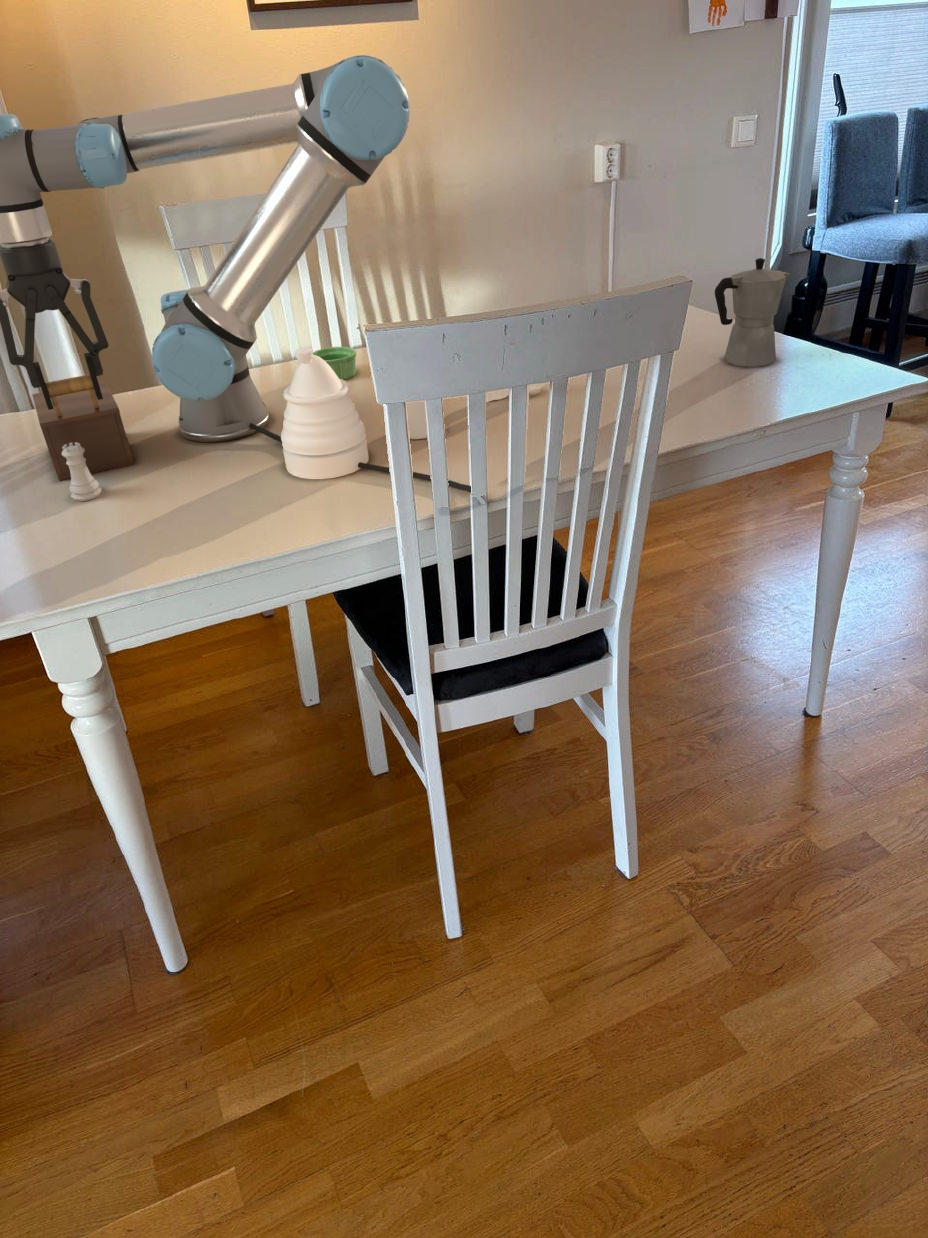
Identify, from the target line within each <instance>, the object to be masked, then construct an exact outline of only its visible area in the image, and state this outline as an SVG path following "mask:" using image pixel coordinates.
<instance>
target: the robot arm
mask: <svg viewBox="0 0 928 1238" xmlns="http://www.w3.org/2000/svg"><path fill="white" fill-rule="evenodd" d="M410 111H411V110H410V100H409V95H408V91H407V89H406V86H405V84H404V83H403V81H402V79H401V77H400V75H398V74H397V73H396V71H395V69H393V67H391V66H389V65H388V64H387V63H385V62H384V61H383V60H382V59H380V58H377V57H375V56H371V55H365V54H360V55H359V54H358V55H353V56H349V57H347V58H345V59H342V60H341V61H338V62H336V63H335V64H332V65H329V66H327V67H324V68H321V69H318V70H313V71H309V72H304V73H299V74H297V77H296V78H295V80H294V82H293V83H289V84H282V85H278V86H277V85H276V86H272V87H266V88H260V89H255V90H249V91H244V92H237V93H233V94H226V95H221V96H215V97H210V98H205V99H199V100H194V101H187V102H182V103H177V104H170V105H166V106H159V107H155V108H147V109H143V110H136V111H131V112H126V113H125V112H124V113H122V114H116V115H110V116H103V117H91V118H85V119H83V120H80V122H76V123H73V124H69V125H65V126H59V127H58V126H57V127H49V128H48V127H47V128H39V129H28V128H26V129H24V127H23V125H21V123H20V119H19V118H18V116H16V115H15V114H13V113H5V114H4V113H3V114H0V262H1V264H2V267H3V271H4V273H5V276H6V280H7V281H6V288H4V289H1V290H0V326H1V330H2V334H3V339H4V343H5V347H6V348H5V349H6V351H7V356H8V360H9V363H10V364H11V365H12V366H22V367H24V368H25V370H26V373H27V377H28V379H29V382H30V386H32V388H33V389H38V388H41V393H42V392H43V395H44V398H45V401H46V404H47V407H48V410H51V409H54V408H53V405H52V402H51V399H50V396H49V393H48V390H47V387H46V384H45V383H46V381H45V378H44V375H43V371H42V368H41V365H40V363H39V361H35V362H34V359H35V358H34V357H35V331H36V328H35V327H36V314H41V313H43V312H45V311H57V310H58V311H59V313H60V314H61V316H62V317H63V318H64V319H65V320H66V322H67V324H69V326H70V328H71V329H72V331H73V332H74V333H75V335H76V337H78V339H79V340H80V342H81V343H82V345H83V346H84V347H85V349H86V351H87V352H85V353H83V356H84V361H85V363H86V367H87V370H88V373H89V374H90V375H91V378H92V382H93V385H94V390H95V394H96V396H97V399H98V400H100V399H103V397H102V393H101V390H100V387H99V383H98V382H99V380H98V377H101V376H103V375H104V370H103V369H104V368H103V367H102V362H101V359H100V356H99V354H100V353H101V352H102V351H103V350H105V349H108V348H109V342H108V340H107V337H106V333H105V331H104V329H103V326H102V323H101V321H100V319H99V316H98V313H97V311H96V307H95V306H94V303H93V300H92V297H91V283H90V282H89V280H88V279H87V278H85V277H81V278H80V279H79V278H70V277H69V276H68V274H66V273H65V272H64V271H65V270H64V268H63V266H62V262H61V258H60V255H59V251H58V248H57V245H56V242H55V241H54V240H53V239H51V238H50V237H51V236H52V235H53V232H52V228H51V225H50V221H49V217H48V215H47V211H46V208H45V204H44V201H43V198H42V193H50V192H58V191H70V190H71V191H73V190H84V189H85V190H86V189H95V188H96V189H97V188H98V189H100V190H101V189H102V190H103V189H106V188H108V187H114V186H120V185H123V184H125V182H126V180H127V177H128V174H131V173H132V174H133V173H137V172H141V171H146V170H153V169H158V168H162V167H170V166H175V165H181V164H186V163H192V162H197V161H198V162H199V161H203V160H204V161H205V160H209V159H215V158H221V157H226V156H231V155H237V154H243V153H248V152H254V151H255V152H256V151H260V150H267V149H271V148H277V147H282V146H289V145H293V144H295V145H296V144H297V146H296V147H295V149H294V150H293V152H292V153H291V154H290V156H289V158H287V160H286V162H285V164H284V165H283V167H282V168H281V170H280V172H279V173H278V175H277V176H276V177H275V179H274V181H272V184H271V185H270V186H269V188H268V189H267V191H266V193H265V194H264V195H263V197H262V198H261V200H260V201H259V203H258V205H257V206H256V208H255V209H254V211H253V212H252V213H251V215H250V216H249V218H248V219H247V221H246V223H245V224H244V226H243V227H242V229H241V230H240V232H239V233H238V235H237V237H235V239H234V241H233V242H232V244H231V246H230V247H229V248H228V250H227V252H225V254H224V256H223V257H222V259H221V260H220V262H219V263H218V265H217V267H216V268H215V270H214V271H213V272H212V274H211V275H210V277H209V278H208V280H207V282H206V283H205V285H202V286H196V287H194V286H193V287H190V288H188V289H182V290H176V291H175V290H174V291H170V292H167V293H164V294H162V296H161V297H160V306H161V307H160V312H161V314H162V315H163V318H164V325H163V327H162V329H161V331H160V332H159V333H158V335H157V336H156V338H155V339H154V341H153V344H152V349H151V355H152V356H151V361H152V367H153V370H154V373H155V375H156V376H157V379H158V380H159V382H160V383H161V384H162V385H163V386H164V387H165V389H167V390H168V392H170V393H171V394H173V395H174V396H177V397H178V398H180V399H179V415H178V426H179V431H180V435H181V437H183V438H185V439H187V440H189V441H194V442H202V443H215V442H216V443H217V442H226V441H231V440H236V439H241V438H244V437H247V436H251V435H253V434H255V433H260V434H262V435H264V436H266V437H268V438H271V439H272V440H274V441H276V442H278V443H281V444H282V440H281V435H278V434H276V433H274V432H272V431H270V430H268V429H265V427H267V425H268V424H269V423H270V415H269V411H268V407H267V405H266V404H265V402H264V401H263V399H262V397H261V395H260V393H259V391H258V388H257V387H256V385H255V383H254V381H253V380H252V378H251V374H250V368H249V364H248V358H247V354H248V353H249V351H250V350H251V348H252V347H253V345H254V344H255V343H256V341H257V339H258V335H257V330H256V322H257V321H258V319H259V318H260V316H261V315H262V314H263V312H264V311H265V310H266V308H267V306H268V305H269V303H270V302H271V300H272V299H273V297H274V296H275V295H276V293H277V292H278V291H279V290H280V288H281V286H282V285H283V283H284V282H285V281H286V279H287V278H288V276H289V275H290V273H291V272H292V271H293V270H294V267H296V265H297V263H298V262H299V260H300V259H301V257H302V256H303V255H304V253H305V252H306V250H307V249H308V248H309V246H310V245H311V243H312V242H313V240H315V237H316V236H317V234H318V233H319V232H320V230H321V229H322V228H323V226H324V225H325V223H326V222H327V220H328V219H329V217H330V216H331V214H332V213H333V212H334V210H335V209H336V207H337V206H338V204H339V203H340V202H341V200H342V198H343V197H344V196H345V194H346V193H347V191H348V190H349V189H351V188H353V187H362V186H363V187H364V186H365V185H366V184H367V183H368V181H369V180H370V178H371V177H372V176H373V174H374V173H375V171H376V170H377V169H378V167H379V166H380V164H381V163H382V162H383V160H384V158H386V157H387V156H388V155H390V154H392V152H393V151H395V150H396V148H398V146H399V145H400V144H401V142H402V141H403V139H404V137H405V135H406V133H407V130H408V127H409V126H408V125H409V122H410V113H411V112H410ZM70 288H73V290H74V293H75V294H76V295H78V296H80V299H81V302H82V304H83V307H84V310H85V312H86V315H87V317H88V321H89V323H90V325H91V328H92V331H93V332H94V335H95V338H96V340H95V341H92V340H91V338H90V336H89V335H88V334H87V332H86V331H85V330H84V328H83V326H82V325H81V324H80V322H79V320H78V319H77V318H76V316H75V315H74V314H73V312H72V311H71V309H70V308H69V306H68V304H67V303H66V302H65V300H66V297H67V295H68V292H69V289H70ZM10 297H12V298H13V299H14V300H15V301H17V302H18V303H19V305H21V306H23V307H24V323H23V325H24V326H23V329H24V330H23V352H22V353H23V354H18V352H17V347H16V342H15V338H14V334H13V330H12V326H11V325H12V324H11V321H10V316H9V312H8V309H7V308H8V307H9V306H10V301H9V298H10ZM89 374H88V375H89ZM358 467H359V468H361V469H364V470H368V471H369V470H370V471H374V472H380V473H381V472H382V473H386V474H390V473H389V468H390V467H388V466H383V465H376V464H371V463H361V462H360V463H358ZM412 472H413V477H412V478H413V479H419V480H423V481H428V482H432V481H431V479H430V474H426V473H421V472H416V471H412ZM448 480H449V481H448V483H449V486H448V487H449V488H453V489H456V490H460V491H465V492H468V493H470V494H471V486H472V485H469V484H463V483H460V482H456V481H453V480H451V479H448Z"/></svg>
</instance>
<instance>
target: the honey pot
mask: <svg viewBox="0 0 928 1238" xmlns="http://www.w3.org/2000/svg"><path fill="white" fill-rule="evenodd" d="M313 352H314V350H313V348H311V347H301V348H297V349H295V350H294V355H295V358H296V359H297V361H298V362H299V363H298V364H297V366H296V368H295V370H294V373H293V377H292V380H291V383H290V385H288V386H287V387H286V388H285V389H284V390H283V394H282V396H283V398H284V400H285V401H286V407H285V409H284V411H283V417H284V419H283V422H282V430H281V433H280V437H281V440H282V443H281V446H282V452H283V457H284V463H285V468H286V470H287V472H288V473H289V474H290V475H292V476H294V477H297V478H300V479H306V480H328V479H334V478H339V477H344V476H347V475H350V474H352V473H355V472H357V471H359V470H361V469H362V468H359V467H358V463H360V462H361V463H366V464H368V462H369V457H370V456H369V449H368V443H367V436H366V428H365V424H364V422H363V421H362V420H361V418H360V414H359V412H358V411H357V410H356V405H355V403H354V402H353V400H352V398H351V397H350V395H349V393H351V385H350V383H348V381H346V380H342V379H339V378H338V377H337V375H336V374H335V372H334V371H333V370H332V368H331V367H330V366H329V365H328V364H327V363H326V362H325V361H324V360H323V359H322V358H320V357H318V356H316V355H313Z"/></svg>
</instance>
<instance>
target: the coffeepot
mask: <svg viewBox="0 0 928 1238" xmlns="http://www.w3.org/2000/svg"><path fill="white" fill-rule="evenodd" d="M765 262H766V259H765V258H764V257H763V258H762V257H759V258H756V259H755V268H751V269H747V270H743V271H740V272H737V273H734V274H732V275H731V276H729V277H724V278H722V279H721V280H720V281H719V282H718V284H717V285H716V286H715V289H714V296H715V302H716V306H717V311H718V316H719V320H720V324H721V325H722V326H728V325H731V324H732V327H731V329H730V334H729V339H728V342H727V346H726V350H725V354H724V359H725V361H726V363H728V364H730V365H732V366H736V367H743V368H759V367H765V366H769V365H771V364H773V363H774V362H775V361H776V360H777V358H776V357H777V356H776V354H777V352H776V335H775V325H774V316H775V315H777V313H778V310H779V307H780V302H781V299H782V294H783V291H784V287H785V283H786V280H787V278H788V277H789V276H791V273H790V272H787V271H782V270H773V269H767V268H764V266H765ZM727 289H731V290H732V291H731V292H732V308H733V309H732V310H733V314H734V315H735V316H734V317H735V319H734V320H733V318H728V317H727V315H728V309H727V306H726V296H725V291H726V290H727ZM733 321H734V323H733Z"/></svg>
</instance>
